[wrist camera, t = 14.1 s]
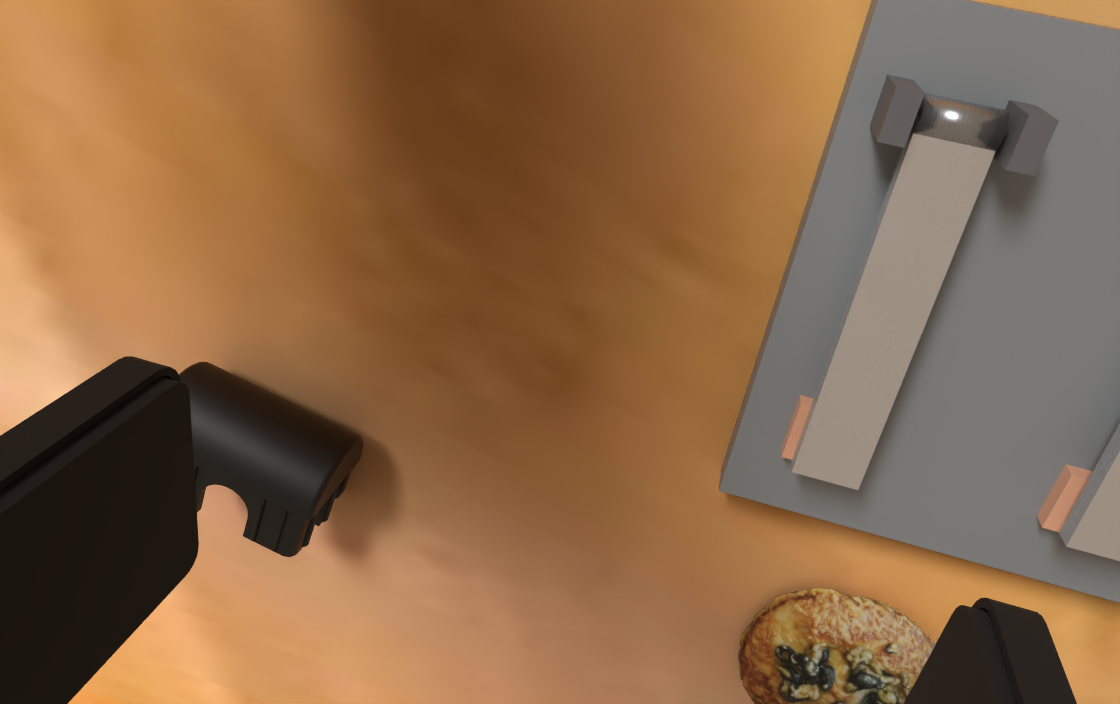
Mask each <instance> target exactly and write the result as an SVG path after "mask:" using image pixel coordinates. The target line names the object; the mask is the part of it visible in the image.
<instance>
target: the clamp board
mask: <svg viewBox="0 0 1120 704" xmlns="http://www.w3.org/2000/svg"><path fill="white" fill-rule="evenodd" d="M925 93H928V94H932V95H937V96H942V97H947V98H951V99H956V100H961V101H966V102H970V103H975V104H980V105H985V106H989V107H994V108H999V109H1004V110H1008V111H1009V114H1010V117H1009V124H1008V127H1007V131H1006V133H1005V136H1004V138H1003V140H1002V142H1001V144H1000V146H999V148H998V149H997V150H996V152H995V154H994V157H993V159H992V162H991V164H990V167H989V169H988V172H987V174H986V176H985V179H984V181H983V184H982V186H981V189H980V191H979V194H978V196H977V199H976V201H975V204H974V206H973V209H972V211H971V213H970V216H969V218H968V221H967V223H966V226H965V228H964V231H963V233H962V236H961V238H960V241H959V243H958V246H957V248H956V250H955V253H954V255H953V258H952V260H951V263H950V265H949V268H948V270H947V273H946V275H945V278H944V280H943V282H942V285H941V287H940V290H939V292H938V295H937V297H936V300H935V302H934V305H933V307H932V310H931V312H930V315H929V317H928V319H927V322H926V324H925V327H924V329H923V332H922V334H921V337H920V339H919V342H918V344H917V347H916V349H915V352H914V354H913V356H912V359H911V361H910V364H909V366H908V369H907V371H906V374H905V376H904V379H903V381H902V384H901V386H900V389H899V391H898V393H897V396H896V398H895V401H894V403H893V406H892V408H891V411H890V413H889V416H888V418H887V421H886V423H885V426H884V428H883V430H882V433H881V435H880V438H879V440H878V443H877V445H876V448H875V450H874V453H873V455H872V458H871V460H870V463H869V465H868V467H867V470H866V472H865V475H864V477H863V480H862V482H861V485H860V487H859V490H855V489H852V488H848V487H844V486H841V485H837V484H834V483H830V482H826V481H823V480H819V479H815V478H812V477H808V476H804V475H801V474H797V473H793V472H792V468H791V460H792V457H793V454H794V452H795V449H796V446H797V443H798V440H799V438H800V435H801V432H802V429H803V426H804V423H805V421H806V418H807V415H808V412H809V409H810V407H811V404H812V401H813V398H814V395H815V393H816V390H817V387H818V384H819V381H820V379H821V376H822V373H823V370H824V367H825V364H826V362H827V359H828V356H829V353H830V350H831V348H832V345H833V342H834V339H835V336H836V334H837V331H838V328H839V325H840V322H841V320H842V317H843V314H844V311H845V308H846V306H847V303H848V300H849V297H850V294H851V291H852V289H853V286H854V283H855V280H856V277H857V275H858V272H859V269H860V266H861V263H862V261H863V258H864V255H865V252H866V249H867V247H868V244H869V241H870V238H871V235H872V232H873V230H874V227H875V224H876V221H877V218H878V216H879V213H880V210H881V207H882V204H883V202H884V199H885V196H886V193H887V190H888V188H889V185H890V182H891V179H892V176H893V174H894V171H895V168H896V165H897V162H898V159H899V157H900V154H901V151H902V148H905V145H906V143H907V140H908V137H909V134H910V132H911V129H912V126H913V124H914V121H915V118H916V115H917V113H918V110H919V107H920V105H921V102H922V99H923V96H924V94H925ZM1119 423H1120V29H1115V28H1110V27H1105V26H1100V25H1095V24H1089V23H1084V22H1079V21H1074V20H1069V19H1064V18H1059V17H1053V16H1048V15H1043V14H1038V13H1033V12H1028V11H1023V10H1017V9H1012V8H1007V7H1002V6H997V5H992V4H986V3H981V2H976V1H971V0H872V2H871V5H870V8H869V11H868V14H867V17H866V20H865V23H864V26H863V30H862V33H861V36H860V39H859V42H858V45H857V48H856V51H855V54H854V58H853V61H852V64H851V67H850V70H849V73H848V76H847V79H846V83H845V86H844V89H843V92H842V95H841V98H840V101H839V104H838V107H837V111H836V114H835V117H834V120H833V123H832V126H831V129H830V132H829V135H828V139H827V142H826V145H825V148H824V151H823V154H822V157H821V160H820V163H819V167H818V170H817V173H816V176H815V179H814V182H813V185H812V188H811V192H810V195H809V198H808V201H807V204H806V207H805V210H804V213H803V216H802V220H801V223H800V226H799V229H798V232H797V235H796V238H795V241H794V244H793V248H792V251H791V254H790V257H789V260H788V263H787V266H786V269H785V272H784V276H783V279H782V282H781V285H780V288H779V291H778V294H777V297H776V301H775V304H774V307H773V310H772V313H771V316H770V319H769V322H768V325H767V329H766V332H765V335H764V338H763V341H762V344H761V347H760V350H759V353H758V357H757V360H756V363H755V366H754V369H753V372H752V375H751V378H750V381H749V385H748V388H747V391H746V394H745V397H744V400H743V403H742V406H741V410H740V413H739V416H738V419H737V422H736V425H735V428H734V431H733V434H732V438H731V441H730V444H729V447H728V450H727V453H726V456H725V459H724V462H723V466H722V469H721V477H720V485H719V491H721V492H725V493H728V494H732V495H735V496H739V497H743V498H746V499H750V500H753V501H757V502H760V503H764V504H768V505H771V506H775V507H778V508H782V509H786V510H789V511H793V512H796V513H800V514H803V515H807V516H811V517H814V518H818V519H821V520H825V521H829V522H832V523H836V524H839V525H843V526H846V527H850V528H854V529H857V530H861V531H864V532H868V533H871V534H875V535H879V536H882V537H886V538H889V539H893V540H897V541H900V542H904V543H907V544H911V545H914V546H918V547H922V548H925V549H929V550H932V551H936V552H939V553H943V554H947V555H950V556H954V557H957V558H961V559H965V560H968V561H972V562H975V563H979V564H982V565H986V566H990V567H993V568H997V569H1000V570H1004V571H1008V572H1011V573H1015V574H1018V575H1022V576H1025V577H1029V578H1033V579H1036V580H1040V581H1043V582H1047V583H1050V584H1054V585H1058V586H1061V587H1065V588H1068V589H1072V590H1076V591H1079V592H1083V593H1086V594H1090V595H1093V596H1097V597H1101V598H1104V599H1108V600H1111V601H1115V602H1118V603H1120V561H1117V560H1114V559H1110V558H1106V557H1103V556H1099V555H1095V554H1092V553H1088V552H1084V551H1081V550H1077V549H1073V548H1070V547H1066V545H1065V543H1064V541H1063V540H1062V538H1061V536H1060V534H1059V532H1060V530H1061V529H1062V527H1063V525H1064V523H1065V521H1066V520H1067V518H1068V516H1069V514H1070V512H1071V510H1072V509H1073V507H1074V505H1075V503H1076V501H1077V500H1078V498H1079V496H1080V494H1081V492H1082V490H1083V489H1084V487H1085V485H1086V483H1087V481H1088V480H1089V478H1090V476H1091V474H1092V472H1093V470H1094V469H1095V467H1096V465H1097V463H1098V461H1099V460H1100V458H1101V456H1102V454H1103V452H1104V450H1105V449H1106V447H1107V445H1108V443H1109V441H1110V440H1111V438H1112V436H1113V434H1114V432H1115V431H1116V429H1117V427H1118V425H1119Z"/></svg>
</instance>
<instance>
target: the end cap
mask: <svg viewBox="0 0 1120 704" xmlns="http://www.w3.org/2000/svg"><path fill="white" fill-rule="evenodd" d="M179 376H180V381H181V383H183V384H185V385H186V386H187V387H188V389H189V394H190V407H191V424H192V441H193V458H194V475H195V492H196V509H197V512H198V511H199V510H200V509H201V507H202V503H203V498H204V494H205V490H206V487H207V486H209V485H214V484H216V485H222V486H225V487H228V488H230V489H232V490H233V491H234V492H236V493H237V494H238V495H239V496H240V497H241V498H242V499H243V501H244V502H245V504H246V506H247V510H248V519H247V523H246V526H245V530H244V534H243V536H244V537H246V538H248V539H250V540H251V541H254V542H256V543H258V544H260V545H262V546H264V547H266V548H268V549H270V550H272V551H274V552H276V553H278V554H280V555H282V556H285V557H291V556H294V555H296V554H297V553H298V552H299V551H300V550H301V548H302V547H305V546H307V545H308V544H309V541H310V538H311V535H312V532H313V529H314V526H315V525H317V526H319V525H320V524H321V523H322V522H325V521H327V520H328V517H329V514H330V511H331V508H332V505H333V502H334V499H336V498H338V497H339V496H340V495H341V494H342V492H343V491H344V489H345V486H346V483H347V480H348V477H349V474H350V472H351V470H352V469H353V467H354V466H355V465H356V464H357V462H358V461H359V460H360V457H361V453H362V448H363V441H362V438H361V437H360V436H358V435H356V434H354V433H352V432H350V431H348V430H346V429H344V428H342V427H340V426H338V425H336V424H334V423H332V422H329V421H327V420H325V419H323V418H321V417H319V416H317V415H315V414H313V413H311V412H309V411H307V410H305V409H303V408H301V407H299V406H297V405H295V404H293V403H291V402H288V401H286V400H284V399H282V398H280V397H278V396H276V395H274V394H272V393H270V392H268V391H266V390H264V389H262V388H260V387H258V386H256V385H254V384H252V383H250V382H247V381H245V380H243V379H241V378H239V377H237V376H235V375H233V374H231V373H229V372H227V371H225V370H223V369H221V368H219V367H217V366H215V365H213V364H210V363H208V362H199V363H196V364H193V365H191V366H190V367H188V368H187V369H185V370H184V371H183V372H182V373H180V374H179Z"/></svg>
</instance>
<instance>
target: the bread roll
mask: <svg viewBox="0 0 1120 704" xmlns="http://www.w3.org/2000/svg"><path fill="white" fill-rule="evenodd" d="M740 647H741V648H740V650H739V655H738V659H739V664H740V671H741V673H740V675H741V680H743V686H744V688H745V689H746V691H747V692H748V694H749V696H750V697H751V699H752V701H753V702H754V703H755V704H904V702H905V700H906V698H907V696H908V695H909V693H910V691H911V689H912V687H913V685H914V683H915V682H916V680H917V678H918V676H919V674H920V672H921V671H922V669H923V667H924V665H925V663H926V661H927V660H928V658H929V656H930V654H931V652H932V650H933V648H934V647H935V643H931V642H930V638H928V637H927V636H926V634H925V633H924V632H923V631H922V630H921V628H920V627H919V626H918V625H917V624H916V623H914V622H912V621H911V620H910V619H909V618H908V617H907V616H905V615H903V614H902V613H900V612H899V611H897V610H896V608H894V607H892V606H889V605H888V604H886V603H884V602H880V601H877V600H873V599H871V598H866V597H865V598H864V597H862V596H861V597H857V596H853V595H849V596H848V595H844V594H841V593H838V592H837V591H835V590H833V589H822V588H812V589H809V590H808V589H807V590H801V591H797V592H793V593H786V594H784V595H780V596H777V597H776V598H775V600H774V601H773V602H772V603H771V604H770V605H768V606H767V607H766V608H765V609H763V610H761V611H760V612H759V613H757V614H756V615H755V616H754V619H753V621H752V623H751V624H750V625H749V626H748V627H747V629H746V630H745V631H744V632H743V634H742V636H741V639H740Z"/></svg>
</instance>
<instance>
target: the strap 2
mask: <svg viewBox="0 0 1120 704" xmlns="http://www.w3.org/2000/svg"><path fill="white" fill-rule="evenodd" d="M1059 534H1060V536H1061V538H1062V540H1063V541H1064V543H1065V545H1066V547H1070V548H1073V549H1077V550H1081V551H1084V552H1088V553H1092V554H1095V555H1099V556H1103V557H1106V558H1110V559H1114V560H1117V561H1120V423H1119V425H1118V427H1117V429H1116V431H1115V432H1114V434H1113V436H1112V438H1111V440H1110V441H1109V443H1108V445H1107V447H1106V449H1105V450H1104V452H1103V454H1102V456H1101V458H1100V460H1099V461H1098V463H1097V465H1096V467H1095V469H1094V470H1093V472H1092V474H1091V476H1090V478H1089V480H1088V481H1087V483H1086V485H1085V487H1084V489H1083V490H1082V492H1081V494H1080V496H1079V498H1078V500H1077V501H1076V503H1075V505H1074V507H1073V509H1072V510H1071V512H1070V514H1069V516H1068V518H1067V520H1066V521H1065V523H1064V525H1063V527H1062V529H1061V530H1060V532H1059Z"/></svg>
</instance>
